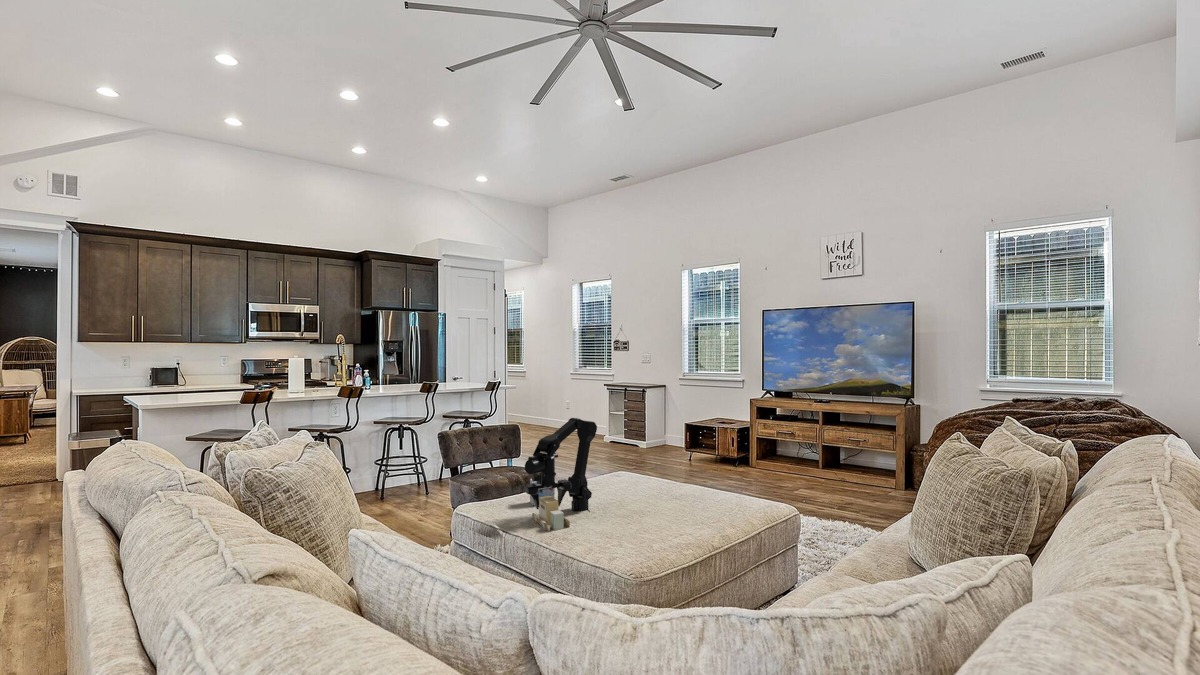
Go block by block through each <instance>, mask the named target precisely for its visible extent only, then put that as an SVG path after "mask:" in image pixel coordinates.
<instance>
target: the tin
mask: <svg viewBox="0 0 1200 675" xmlns="http://www.w3.org/2000/svg"><path fill="white" fill-rule="evenodd" d="M564 515H565V513H564V512H563V511H562V510H561V509H558V510H556V511H550V527H551V528H552V529H554V530H553V531H558V530H564V529H565V528H564V517H565V516H564ZM563 528H564V529H563Z"/></svg>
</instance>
